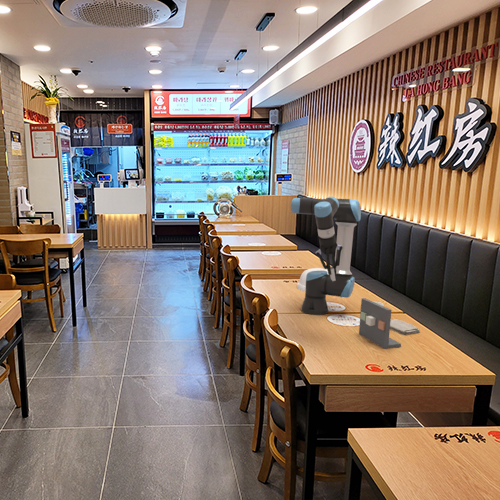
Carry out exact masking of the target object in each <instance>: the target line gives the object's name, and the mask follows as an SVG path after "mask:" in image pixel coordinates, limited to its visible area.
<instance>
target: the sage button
mask: <svg viewBox="0 0 500 500" xmlns="http://www.w3.org/2000/svg"><path fill="white" fill-rule="evenodd" d="M360 313H361V317H360V316H359V320H360V319H362V320H364V321H366V316H367V313H365V312H363V311H362V312H361V311H360Z"/></svg>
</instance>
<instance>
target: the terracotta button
mask: <svg viewBox="0 0 500 500" xmlns="http://www.w3.org/2000/svg"><path fill="white" fill-rule="evenodd" d="M378 328H379V329H381V330H383V331H384V330H385V322H384V321H382V320H379V323H378Z"/></svg>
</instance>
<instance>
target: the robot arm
mask: <svg viewBox="0 0 500 500" xmlns="http://www.w3.org/2000/svg"><path fill="white" fill-rule="evenodd" d="M361 209H362V208H361V204H360V201H359V200H358V199H354V198H336V197H335V196H328V197H326V198H309V197H306V198H305V197H294V198H292V200H291V203H290V211H291V212H292V213H293V214H297V215H299V214H301V215H314V216H315V223H316V228H317V234H318V240H319V241H318V243H319V249H318V250H315V251H314V252H315V254H316V256H317V257H318V259H319V260H320V263H321V265H322V267H323V269H327V270H328V273H327V271H311V272H309V273H307V276H306V290H305V292H304V293H305V294H304V298H303V301H302V304H301V307H300V308H301V309H300V311H301V312H303V313H305V314H308V315H317V316H318V315H319V316H321V315H326V314H328V312H329V308H328V307H329V306H328V303H327V299H326V298H327V296H330V297H331V296H332V297H339V298H350V297H351V295H352V294H353V291H354V287H355V281H356V279H355V278H356V277H354V276H353V273H352V272H351V270H350V269H351V260H352V249H353V240H354V230H355V227H356V226H357V225H358V222H360V221H361V218H362V214H361V213H362V210H361ZM334 220H335V224H336V225H337V231H336V232H337V233H335V227H334V226H335V225H334ZM336 234H337V235H336ZM322 253H323V254H324V256H325V261H324V258H323V256H322Z"/></svg>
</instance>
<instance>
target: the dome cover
mask: <svg viewBox="0 0 500 500" xmlns="http://www.w3.org/2000/svg"><path fill="white" fill-rule="evenodd" d="M311 271H327V273H328V270H327V269H324V267H323V268H322V267H321V268H320V267H311V268H308V269H305V270H304V271H303V272H302V273H301V275H300V277H299V281H298V282H297V284H296V289H297V290H299V289H300V290H299V291H301V290H302V291H301V292H304V291H305V290H306V276H307V273H309V272H311Z"/></svg>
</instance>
